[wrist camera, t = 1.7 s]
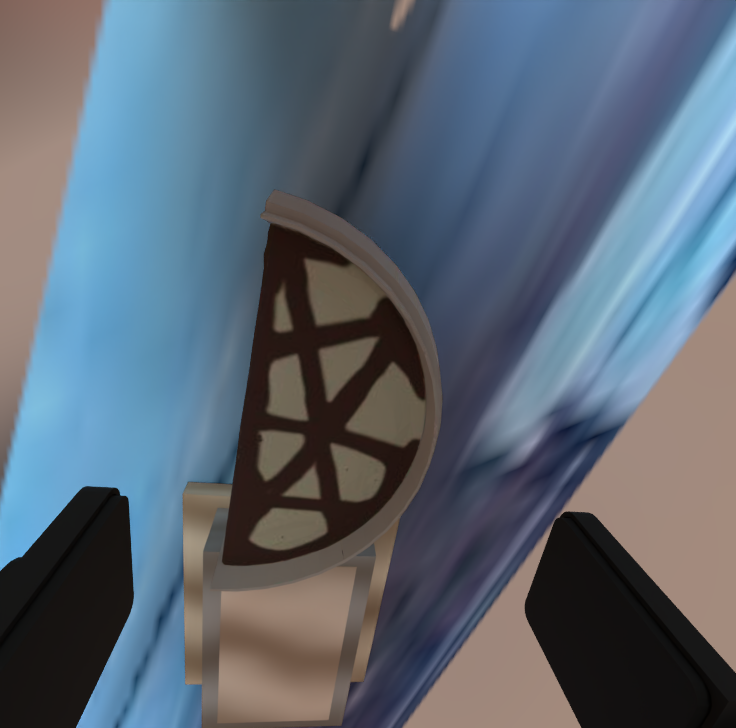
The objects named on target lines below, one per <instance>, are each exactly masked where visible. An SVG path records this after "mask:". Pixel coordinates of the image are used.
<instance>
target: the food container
mask: <svg viewBox="0 0 736 728" xmlns="http://www.w3.org/2000/svg"><path fill="white" fill-rule="evenodd" d="M260 218H262V219H264V220H265V221H267V222H269V223H271V224H270V228H269V231H268V240H267V245H266V248H265V252H264V271H263V279H262V287H261V294H260V300H259V307H258V313H257V320H256V326H255V333H254V340H253V347H252V354H251V362H250V369H249V375H248V381H247V388H246V394H245V400H244V407H243V413H242V419H241V426H240V433H239V441H238V449H237V457H236V465H235V471H234V478H233V484H232V491H231V497H230V504H229V511H228V518H227V525H226V532H225V536H224V539H223V543H222V547H221V550H220V554H219V558H218V561H217V565H216V569H215V573H214V576H213V580H212V584H211V587H210V591H231V592H239V591H249V590H260V589H268V588H273V587H278V586H283V585H287V584H292V583H296V582H299V581H302V580H305V579H308V578H311V577H314V576H317V575H320V574H322V573H324V572H326V571H328V570H330V569H332V568H335V567H337V566H339V565H341V564H343V563H345V562H347V561H348V560H350V559H351V558H353V557H354V556H356V555H357V554H359V553H361V552H362V551H364V550H365V549H367V548H368V547H369V546H371V545H372V544H373V543H374V542H375V541H376V540H378V539H379V538H380V537H381V536H382V535H383V534H385V533H386V532H387V531H388V530H389V529H390V528H391V527H392V525H393V524H394V523H395V522H396V521H397V520H398V519H399V517H400V516H401V515H402V514H403V513H404V512H405V511H406V509H407V507H408V506H409V504H410V503H411V501H412V500H413V498H414V496H415V495H416V493H417V492H418V490H419V489H420V486H421V484H422V482H423V479H424V477H425V475H426V472H427V470H428V468H429V465H430V463H431V458H432V456H433V454H434V450H435V446H436V442H437V438H438V434H439V430H440V426H441V412H442V399H443V398H442V388H441V378H440V368H439V361H438V354H437V348H436V344H435V341H434V337H433V334H432V330H431V327H430V323H429V320H428V318H427V316H426V314H425V312H424V310H423V307H422V305H421V303H420V301H419V299H418V297H417V295H416V293H415V291H414V290H413V288H412V287H411V285H410V284H409V283H408V281H407V280H406V278H405V277H404V276H403V274H402V273H401V271H400V270H399V268H398V267H397V266H396V264H395V263H394V262H393V261H392V260H391V259H390V258H389V257H388V256H387V255H386V254H385V253H384V252H383V251H382V250H381V249H380V248H379V247H378V246H377V245H376V244H375V243H374V242H373V241H372V240H371V239H370V238H368V237H367V236H366V235H364V234H363V233H361V232H360V231H359V230H357V229H356V228H355V227H353V226H352V225H351V224H349V223H348V222H347V221H345V220H344V219H342V218H341V217H339V216H337V215H335V214H333V213H331V212H329V211H327V210H325V209H323V208H321V207H319V206H318V205H316V204H314V203H312V202H310V201H308V200H305V199H302V198H299V197H296V196H293V195H290V194H287V193H284V192H281V191H278V190H275V189H274V191H273V192H272V193H271V195H270V196H269V198H268V199H267V200H266V206H265V211H264V212H263V213H261V216H260Z"/></svg>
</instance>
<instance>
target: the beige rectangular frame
mask: <svg viewBox="0 0 736 728" xmlns="http://www.w3.org/2000/svg"><path fill="white" fill-rule="evenodd" d="M231 491H232V484H216V483H197V482H188V484H187V486H186V488H185V490H184V492H183V555H184V624H185V684H202V728H281V727H312V726H342V721H343V716H344V711H345V706H346V701H347V696H348V692H349V687H350V682H364V677H365V673H366V668H367V664H368V659H369V655H370V650H371V646H372V641H373V637H374V632H375V628H376V623H377V619H378V614H379V610H380V605H381V601H382V596H383V592H384V587H385V583H386V578H387V574H388V569H389V565H390V560H391V556H392V551H393V547H394V542H395V538H396V533H397V529H398V524H399V520H400V517H399V519H398V520H397V521H396V522H395V523H394V524H393V525H392V527H391V528H390V529H389V530H388V531H387V532H386V533H385V534H383V535H382V536H381V537H380V538H379V539H378V540H376V541H375V542H374V543H373V544H372V545H371V546H369V547H368V548H367V549H365V550H364V551H362V552H361V553H359V554H357V555H356V556H354V557H353V558H351V559H350V560H348V561H347V562H345V563H343V564H341V565H339V566H337V567H335V568H332V569H330V570H328V571H326V572H324V573H322V574H320V575H317V576H314V577H311V578H308V579H305V580H302V581H299V582H296V583H292V584H287V585H283V586H278V587H273V588H268V589H260V590H249V591H239V592H231V591H210V587H211V584H212V580H213V576H214V573H215V569H216V565H217V561H218V558H219V554H220V550H221V547H222V543H223V539H224V536H225V532H226V525H227V518H228V511H229V504H230V497H231Z"/></svg>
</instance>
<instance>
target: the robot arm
mask: <svg viewBox="0 0 736 728" xmlns="http://www.w3.org/2000/svg"><path fill="white" fill-rule="evenodd" d="M133 599H134V590H133V572H132V554H131V536H130V518H129V501H128V498H127V496H120V492H119V490H118V489H117V488H109V487H90V486H86V487H83V488H82V489H81V490H80V491H79V492H78V493H77V494H76V495H75V496H74V498H73V499H72V500H71V501H70V502H69V503H68V504H67V506H66V507H65V508H64V509H63V510H62V511H61V513H60V514H59V515H58V516H57V517H56V518H55V520H54V521H53V522H52V523H51V524H50V525H49V526H48V528H47V529H46V530H45V531H44V532H43V533H42V535H41V536H40V537H39V538H38V539H37V540H36V541H35V543H34V544H33V545H32V546H31V547H30V548H29V550H28V551H27V552H26V553H25V554H24V555H23V557H18V558H16V559H14V560H12V561H10V562H9V563H8V564H7V565H6V566H5V567H4V568H3V569H2V570H1V571H0V728H76V726H77V724H78V722H79V720H80V718H81V716H82V714H83V712H84V710H85V707H86V705H87V703H88V701H89V699H90V697H91V695H92V693H93V691H94V689H95V686H96V684H97V682H98V680H99V678H100V676H101V674H102V672H103V670H104V667H105V665H106V663H107V661H108V659H109V657H110V655H111V653H112V651H113V649H114V646H115V644H116V642H117V640H118V638H119V636H120V634H121V632H122V630H123V627H124V625H125V623H126V621H127V619H128V617H129V614H130V612H131V609H132V605H133ZM525 614H526V618H527V620H528V622H529V624H530V626H531V628H532V630H533V632H534V634H535V636H536V638H537V640H538V642H539V644H540V646H541V648H542V650H543V652H544V654H545V656H546V658H547V660H548V662H549V664H550V666H551V668H552V670H553V672H554V674H555V676H556V678H557V680H558V682H559V684H560V686H561V688H562V690H563V692H564V694H565V696H566V698H567V700H568V702H569V704H570V706H571V708H572V710H573V712H574V714H575V716H576V718H577V720H578V722H579V724H580V726H581V728H736V673H735V672H734V671H733V669H731V667H730V666H729V665H728V664H727V663H726V662H725V661H724V659H723V658H722V657H721V656H720V655H719V654H718V653H717V652H716V651H715V649H714V648H713V647H712V646H711V645H710V644H709V643H708V642H707V641H706V639H705V638H704V637H703V636H702V635H701V634H700V633H699V632H698V630H697V629H696V628H695V627H694V626H693V625H692V624H691V623H690V621H689V620H688V619H687V618H686V617H685V616H684V615H683V614H682V613H681V611H680V610H679V609H678V608H677V607H676V606H675V605H674V604H673V603H672V601H671V600H670V599H669V598H668V597H667V596H666V595H665V594H664V593H663V591H662V590H661V589H660V588H659V587H658V586H657V585H656V584H655V582H654V581H653V580H652V579H651V578H650V577H649V576H648V575H647V574H646V572H645V571H644V570H643V569H642V568H641V567H640V566H639V565H638V563H637V562H636V561H635V560H634V559H633V558H632V557H631V556H630V554H629V553H628V552H627V551H626V550H625V549H624V548H623V547H622V546H621V544H620V543H619V542H618V541H617V540H616V539H615V538H614V537H613V536H612V534H611V533H610V532H609V531H608V530H607V529H606V528H605V527H604V525H603V524H602V523H601V522H600V521H599V520H598V519H597V518H596V517H595V516H594V515H593V514H591V513H585V512H564V513H563V514H562V515H561V517H560V518H557V519H556V520H555V522H554V524H553V527H552V530H551V532H550V535H549V538H548V541H547V544H546V546H545V549H544V552H543V554H542V557H541V560H540V563H539V565H538V568H537V571H536V574H535V577H534V579H533V582H532V585H531V587H530V591H529V593H528V596H527V598H526V601H525Z"/></svg>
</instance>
